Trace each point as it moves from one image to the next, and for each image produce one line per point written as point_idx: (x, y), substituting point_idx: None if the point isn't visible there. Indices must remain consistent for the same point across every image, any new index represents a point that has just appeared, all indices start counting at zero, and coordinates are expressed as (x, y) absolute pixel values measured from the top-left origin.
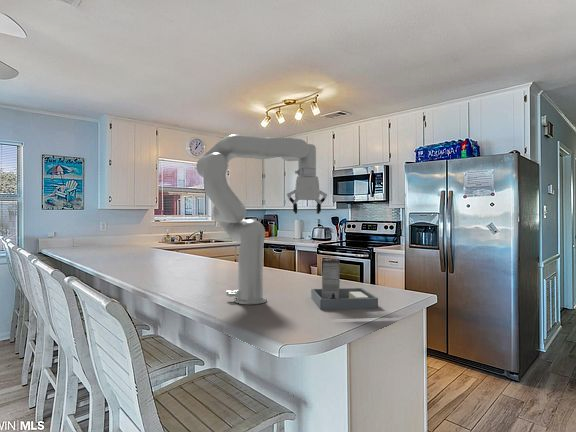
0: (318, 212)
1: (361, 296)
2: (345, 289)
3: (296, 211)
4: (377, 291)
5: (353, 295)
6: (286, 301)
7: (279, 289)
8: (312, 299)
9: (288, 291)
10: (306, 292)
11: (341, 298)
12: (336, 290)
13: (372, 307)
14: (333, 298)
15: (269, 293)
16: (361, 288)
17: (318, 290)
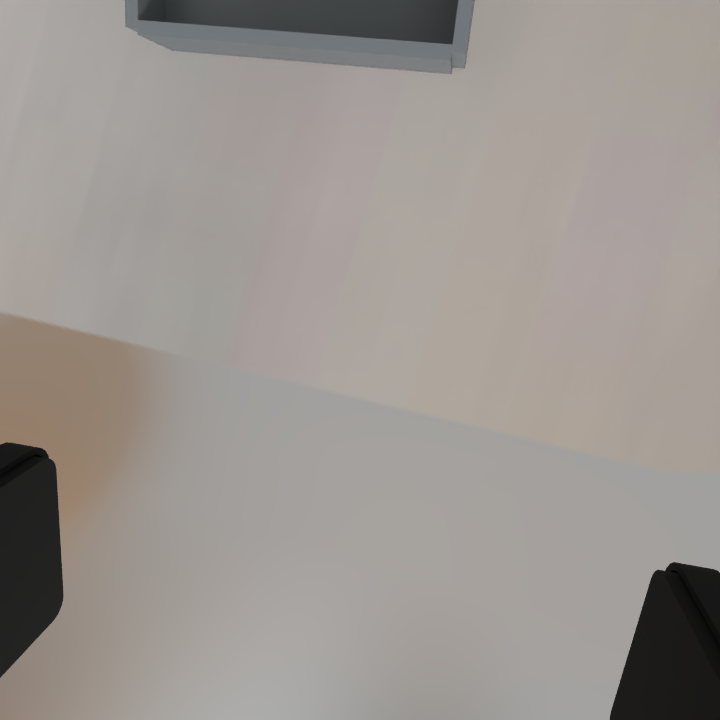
0: (25, 449)
1: None
2: (236, 29)
3: (704, 589)
4: (19, 243)
5: None
6: (626, 73)
7: (559, 426)
8: (472, 13)
9: (521, 357)
10: (422, 305)
11: (285, 18)
12: None
13: None
14: None
15: (659, 327)
16: (132, 18)
17: (417, 44)
